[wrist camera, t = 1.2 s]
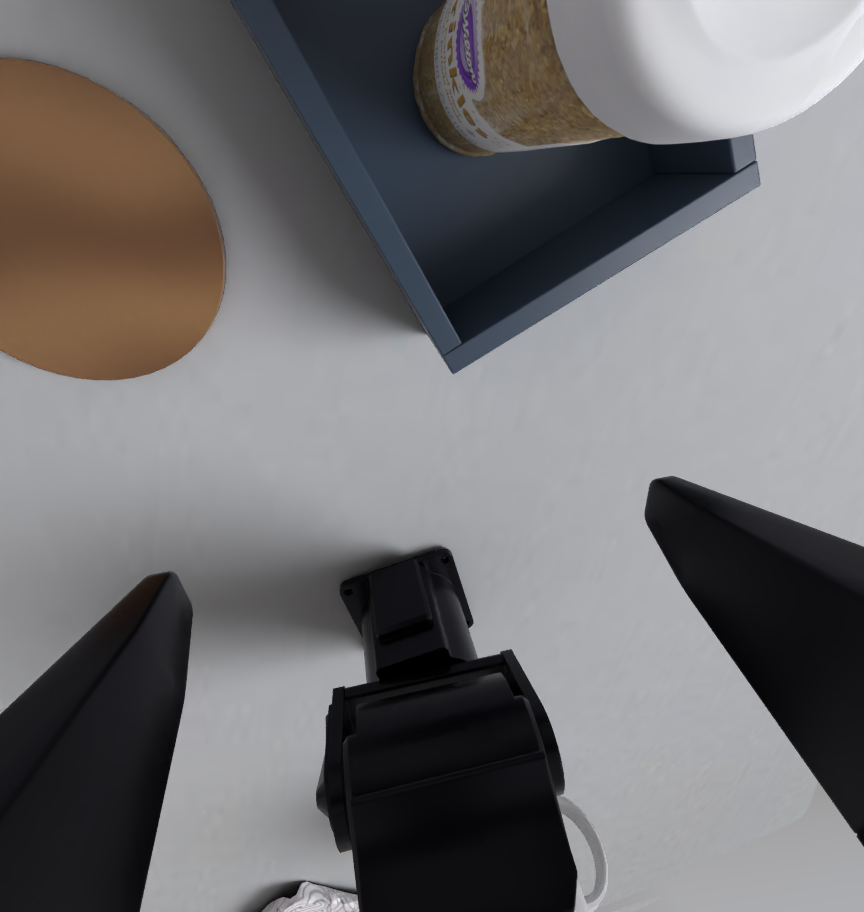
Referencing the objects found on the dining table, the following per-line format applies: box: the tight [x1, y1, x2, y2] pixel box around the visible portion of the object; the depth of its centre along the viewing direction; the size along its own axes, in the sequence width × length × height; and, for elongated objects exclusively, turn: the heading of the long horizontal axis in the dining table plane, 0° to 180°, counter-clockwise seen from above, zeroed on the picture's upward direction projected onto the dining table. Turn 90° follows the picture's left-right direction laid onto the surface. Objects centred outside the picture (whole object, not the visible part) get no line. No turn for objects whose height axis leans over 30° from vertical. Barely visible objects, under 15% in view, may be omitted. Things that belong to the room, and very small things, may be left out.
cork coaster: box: [0, 58, 226, 380], centre depth 17 cm, size 10×10×1 cm
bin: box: [230, 0, 760, 374], centre depth 15 cm, size 14×12×5 cm
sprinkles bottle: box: [413, 0, 864, 157], centre depth 11 cm, size 5×5×13 cm
